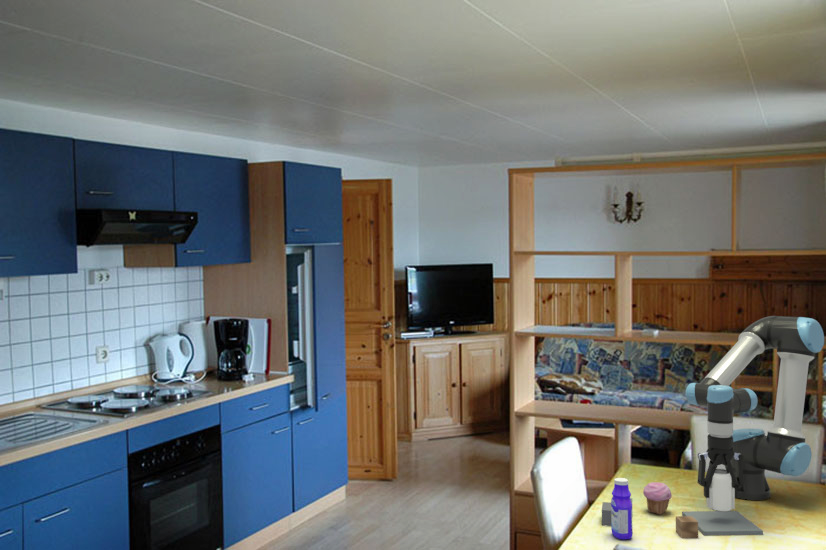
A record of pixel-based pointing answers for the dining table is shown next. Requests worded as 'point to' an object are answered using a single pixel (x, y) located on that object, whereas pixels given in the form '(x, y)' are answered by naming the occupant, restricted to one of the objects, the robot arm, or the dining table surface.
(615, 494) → the bottle
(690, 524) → the walnut block
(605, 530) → the dining table surface
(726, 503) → the can
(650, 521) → the dining table surface
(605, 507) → the charcoal block
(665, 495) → the cupcake
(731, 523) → the board
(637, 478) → the dining table surface
